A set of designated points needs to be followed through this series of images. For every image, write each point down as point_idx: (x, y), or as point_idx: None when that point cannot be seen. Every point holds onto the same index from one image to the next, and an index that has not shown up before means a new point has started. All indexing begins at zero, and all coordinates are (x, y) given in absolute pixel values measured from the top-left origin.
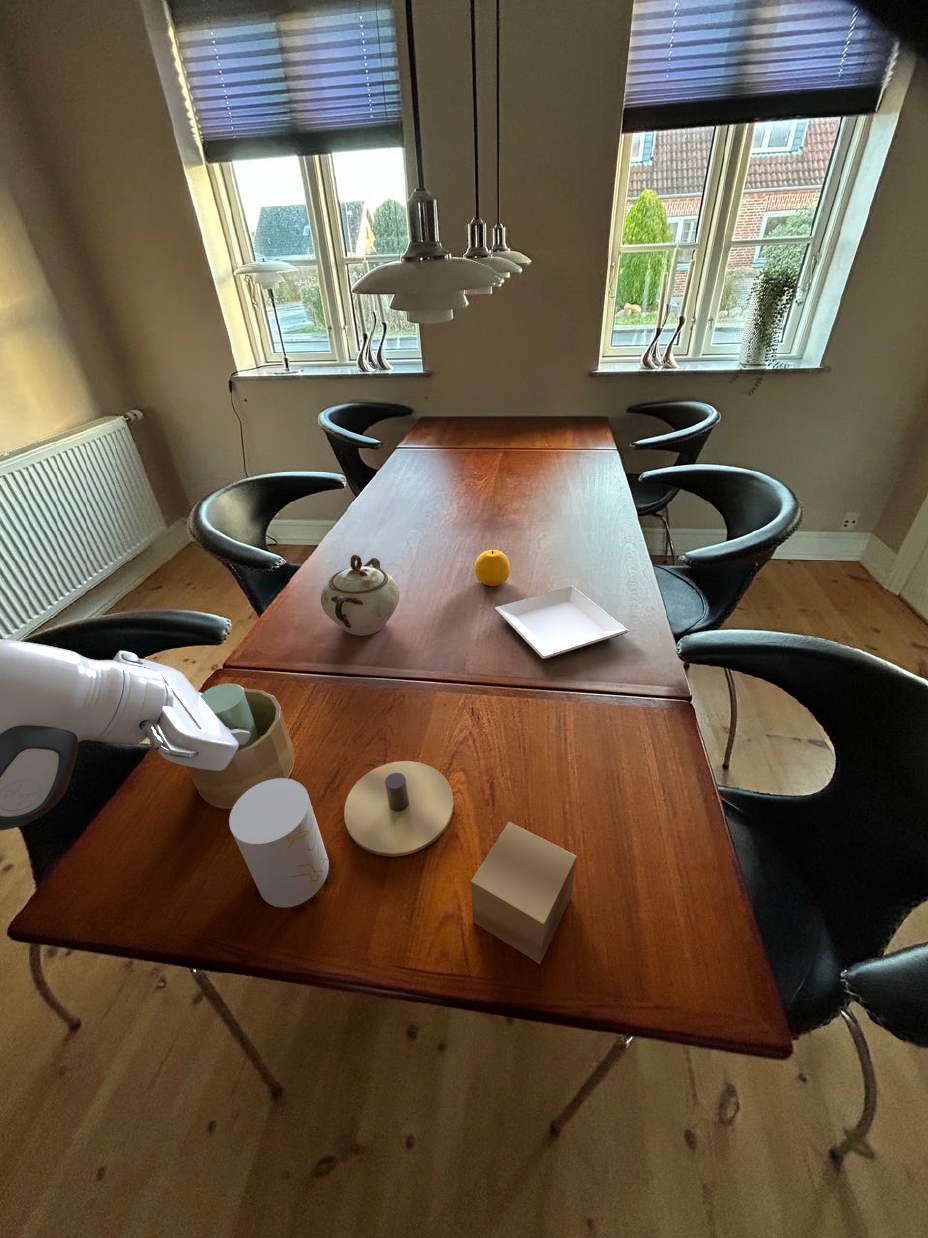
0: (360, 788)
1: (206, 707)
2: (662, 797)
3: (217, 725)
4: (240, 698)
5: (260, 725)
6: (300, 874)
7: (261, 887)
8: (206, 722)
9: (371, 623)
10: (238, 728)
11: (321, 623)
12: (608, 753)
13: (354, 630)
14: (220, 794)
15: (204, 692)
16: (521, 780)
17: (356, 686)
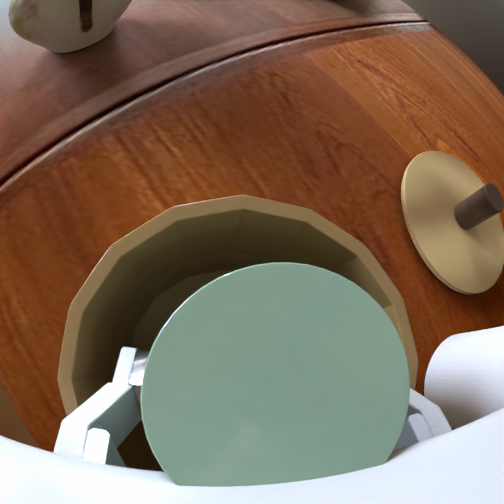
0: (425, 235)
1: (345, 493)
2: (496, 98)
3: (494, 452)
4: (379, 312)
5: (161, 283)
6: None
7: None
8: (501, 491)
9: (122, 7)
10: None
11: (15, 72)
12: (459, 74)
13: (92, 34)
14: None
15: (156, 453)
16: (464, 122)
17: (188, 95)
